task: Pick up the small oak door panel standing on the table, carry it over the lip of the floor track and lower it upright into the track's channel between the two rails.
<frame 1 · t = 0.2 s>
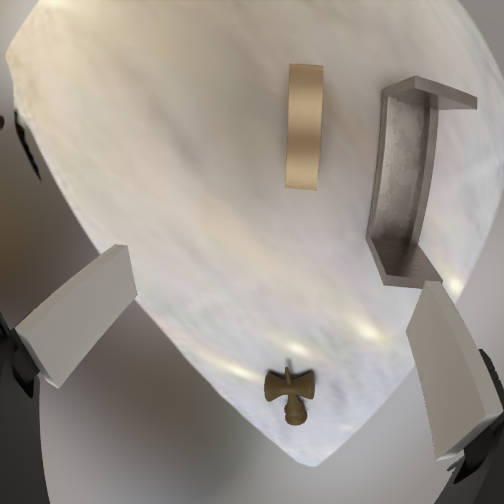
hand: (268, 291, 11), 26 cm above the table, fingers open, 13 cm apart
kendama: (293, 385, 53), on the table
door panel: (306, 125, 31), on the table
track: (401, 170, 31), on the table
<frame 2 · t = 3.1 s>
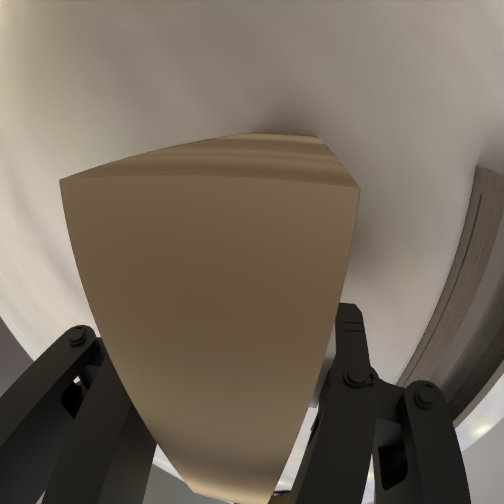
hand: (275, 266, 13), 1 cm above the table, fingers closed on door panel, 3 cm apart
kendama: (272, 493, 35), on the table
door panel: (276, 259, 14), on the table, touching gripper
track: (465, 335, 13), on the table
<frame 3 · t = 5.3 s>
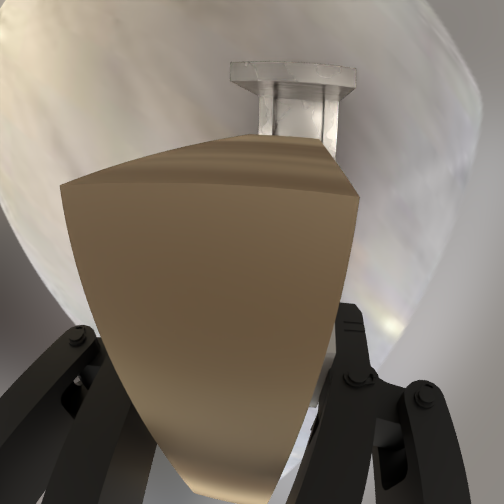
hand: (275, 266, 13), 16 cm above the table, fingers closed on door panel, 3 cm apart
door panel: (276, 261, 14), point 16 cm above the table, touching gripper
track: (295, 188, 27), on the table
when the fingers open (4 cm above the table, at t = 7.7 s): door panel drops 2 cm, resting on track.
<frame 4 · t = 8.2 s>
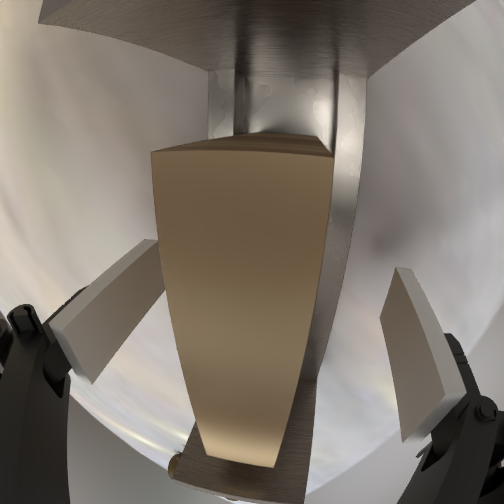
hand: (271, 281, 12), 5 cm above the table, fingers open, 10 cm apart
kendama: (214, 465, 38), on the table
door panel: (281, 242, 15), point 1 cm above the table, touching track
track: (282, 237, 16), on the table
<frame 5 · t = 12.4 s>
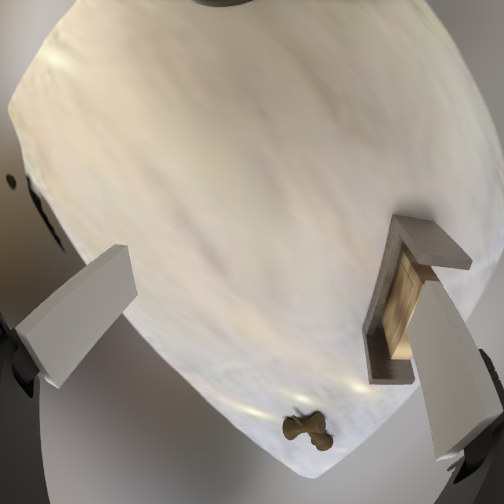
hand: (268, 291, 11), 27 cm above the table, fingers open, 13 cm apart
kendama: (311, 422, 59), on the table
door panel: (399, 283, 37), point 1 cm above the table, touching track
track: (397, 280, 38), on the table
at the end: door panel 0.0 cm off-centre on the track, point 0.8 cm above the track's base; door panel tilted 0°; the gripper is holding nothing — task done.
